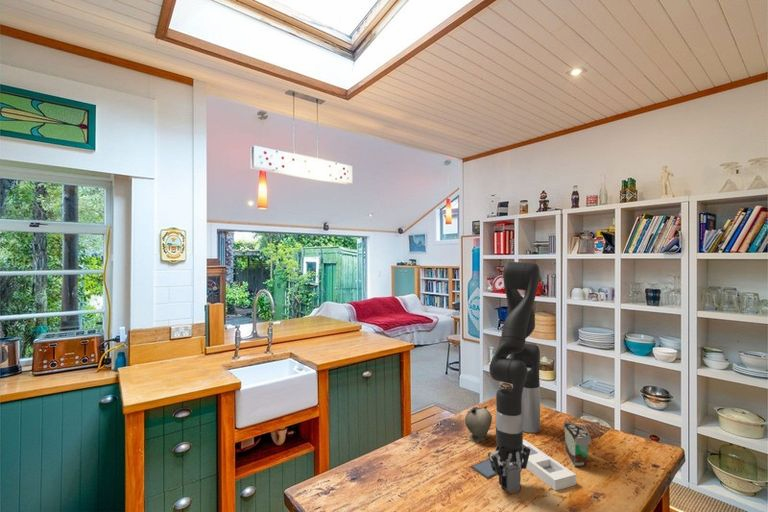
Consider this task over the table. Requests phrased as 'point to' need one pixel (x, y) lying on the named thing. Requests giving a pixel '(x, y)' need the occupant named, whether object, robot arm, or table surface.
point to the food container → (576, 444)
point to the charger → (513, 477)
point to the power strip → (549, 469)
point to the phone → (484, 469)
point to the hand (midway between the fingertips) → (509, 484)
